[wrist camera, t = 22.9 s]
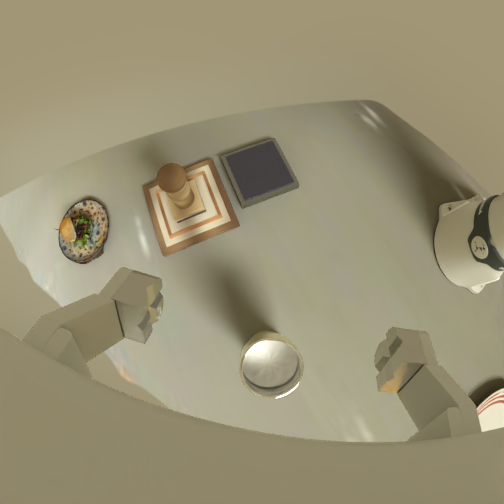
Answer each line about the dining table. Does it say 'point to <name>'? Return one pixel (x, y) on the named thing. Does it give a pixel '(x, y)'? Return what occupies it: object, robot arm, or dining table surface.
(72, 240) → the plate of salad
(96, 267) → the dining table surface
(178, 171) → the stamp
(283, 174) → the ink pad
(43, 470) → the robot arm
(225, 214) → the board
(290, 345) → the beer glass
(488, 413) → the dinner plate
